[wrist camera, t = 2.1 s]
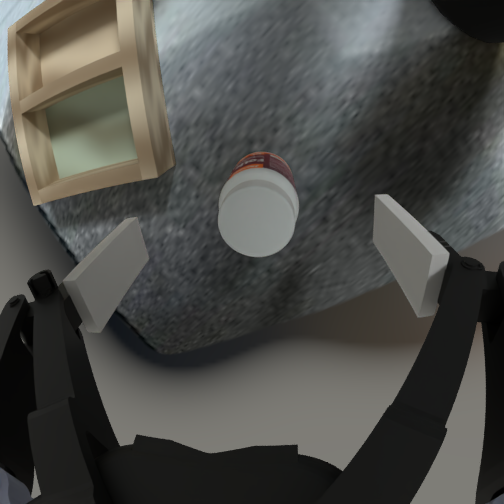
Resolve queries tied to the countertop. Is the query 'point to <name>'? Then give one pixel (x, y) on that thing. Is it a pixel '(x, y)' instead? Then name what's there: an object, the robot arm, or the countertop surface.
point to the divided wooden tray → (87, 96)
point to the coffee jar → (476, 17)
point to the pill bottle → (258, 205)
